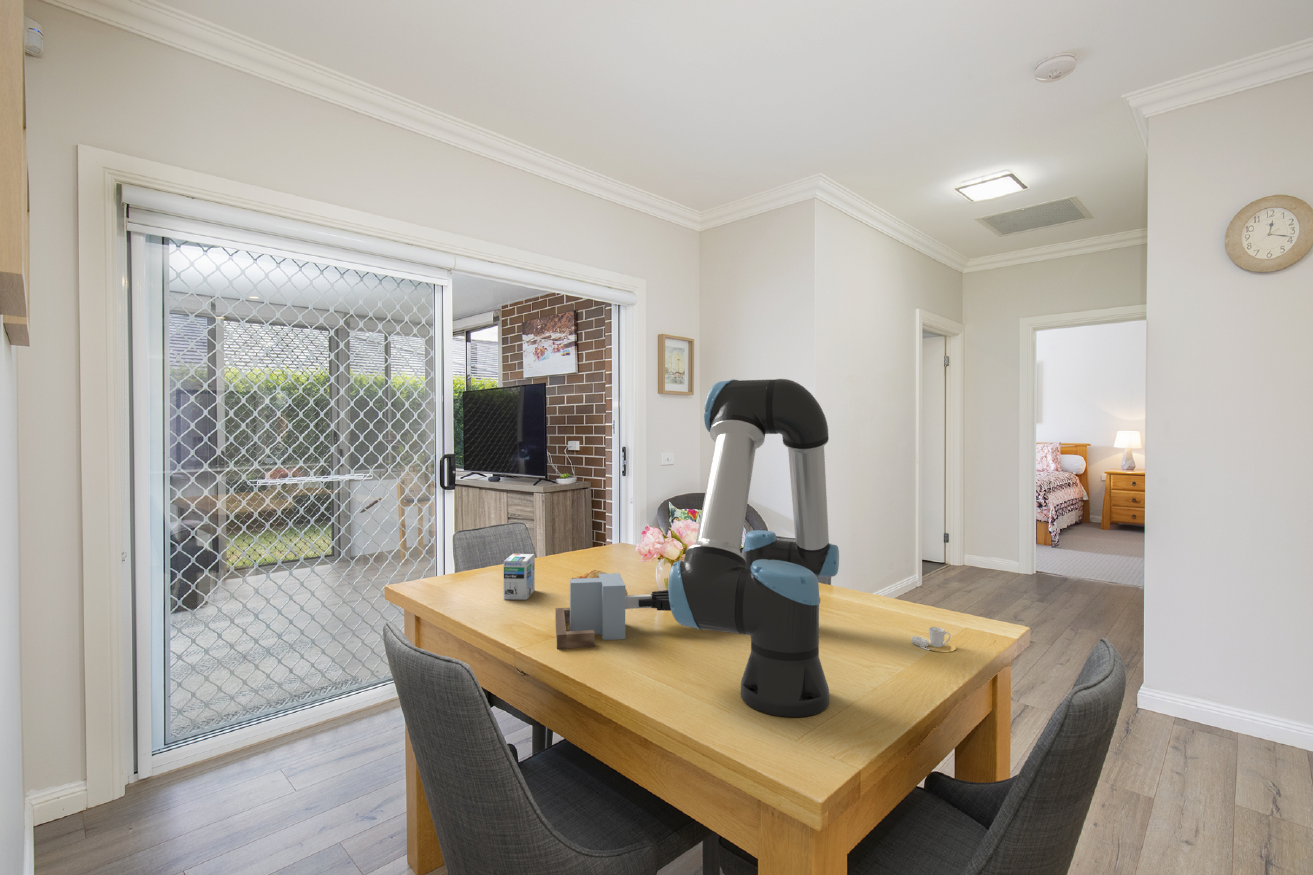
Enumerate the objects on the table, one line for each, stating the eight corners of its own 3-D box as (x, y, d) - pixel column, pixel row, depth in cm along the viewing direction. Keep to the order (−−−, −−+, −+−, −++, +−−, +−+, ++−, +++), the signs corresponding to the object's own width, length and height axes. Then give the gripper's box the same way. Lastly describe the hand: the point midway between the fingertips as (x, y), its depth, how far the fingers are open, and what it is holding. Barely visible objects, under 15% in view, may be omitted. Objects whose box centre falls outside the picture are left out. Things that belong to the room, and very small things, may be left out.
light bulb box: (527, 600, 170) (527, 561, 170) (502, 600, 170) (502, 560, 170) (535, 590, 181) (535, 553, 180) (512, 590, 181) (512, 553, 181)
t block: (619, 622, 151) (619, 573, 151) (625, 638, 139) (625, 585, 139) (569, 624, 149) (569, 574, 149) (571, 641, 137) (571, 587, 137)
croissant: (633, 610, 173) (642, 582, 176) (612, 600, 166) (622, 571, 168) (577, 596, 186) (586, 570, 188) (556, 586, 178) (566, 560, 181)
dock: (588, 618, 154) (588, 606, 154) (594, 646, 134) (594, 632, 134) (555, 620, 152) (555, 608, 152) (557, 648, 132) (557, 634, 132)
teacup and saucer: (907, 647, 136) (907, 628, 135) (920, 638, 141) (920, 620, 141) (949, 657, 130) (949, 638, 129) (961, 647, 135) (962, 629, 135)
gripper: (729, 621, 143) (627, 627, 139) (713, 605, 156) (620, 610, 151) (729, 589, 143) (627, 593, 138) (714, 575, 156) (620, 579, 151)
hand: (624, 602), depth 145 cm, fingers closed
